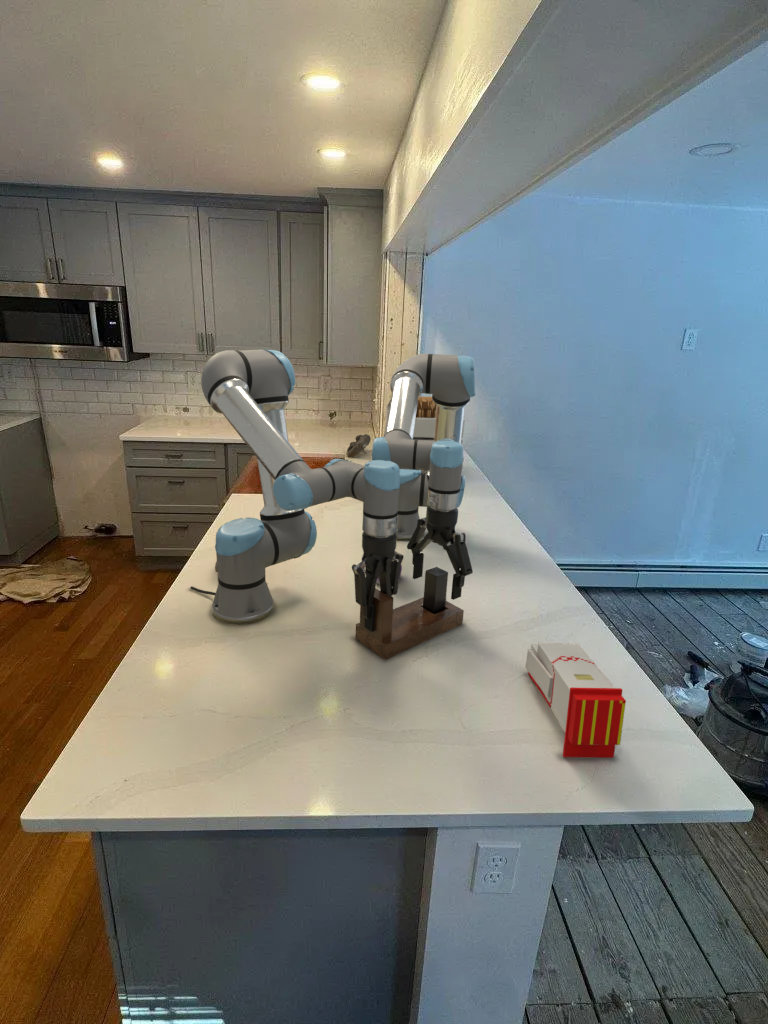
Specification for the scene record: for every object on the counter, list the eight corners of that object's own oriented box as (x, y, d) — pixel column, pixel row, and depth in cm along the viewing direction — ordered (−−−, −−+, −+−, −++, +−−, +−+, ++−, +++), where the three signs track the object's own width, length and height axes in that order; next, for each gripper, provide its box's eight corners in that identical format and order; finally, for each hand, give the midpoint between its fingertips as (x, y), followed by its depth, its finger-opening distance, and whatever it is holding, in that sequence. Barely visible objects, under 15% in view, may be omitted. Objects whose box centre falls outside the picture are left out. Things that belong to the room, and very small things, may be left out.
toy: (573, 626, 127) (635, 696, 97) (567, 680, 129) (626, 765, 100) (519, 624, 126) (566, 695, 97) (515, 680, 129) (558, 764, 100)
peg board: (355, 638, 136) (356, 586, 131) (431, 606, 152) (435, 559, 147) (385, 660, 128) (387, 605, 123) (462, 624, 144) (467, 574, 139)
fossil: (346, 440, 316) (367, 425, 311) (357, 453, 319) (378, 438, 314) (340, 453, 296) (362, 438, 291) (351, 468, 299) (374, 452, 294)
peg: (421, 620, 145) (425, 570, 140) (432, 615, 148) (436, 566, 143) (432, 626, 142) (437, 576, 138) (443, 621, 145) (448, 572, 140)
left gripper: (361, 546, 115) (358, 645, 123) (418, 529, 125) (412, 622, 133) (339, 534, 121) (337, 630, 129) (395, 519, 131) (390, 609, 139)
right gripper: (396, 495, 141) (392, 573, 148) (471, 525, 123) (463, 611, 131) (417, 490, 146) (412, 566, 153) (493, 519, 128) (484, 602, 135)
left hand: (375, 626), depth 131 cm, fingers closed on peg board, 3 cm apart
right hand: (436, 587), depth 142 cm, fingers open, 13 cm apart
